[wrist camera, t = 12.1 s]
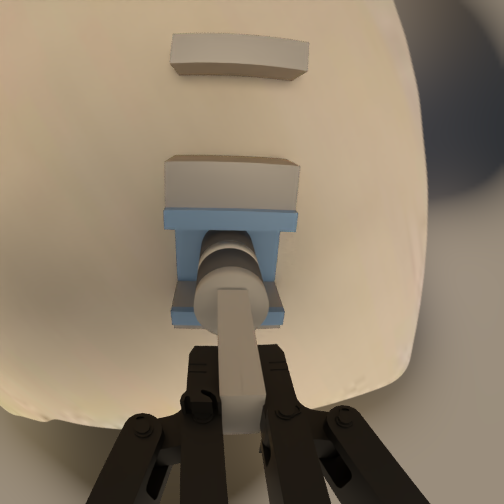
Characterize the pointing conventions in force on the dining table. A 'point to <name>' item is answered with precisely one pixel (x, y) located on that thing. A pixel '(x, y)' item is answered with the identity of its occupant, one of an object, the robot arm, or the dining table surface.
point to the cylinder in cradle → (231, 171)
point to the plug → (228, 276)
